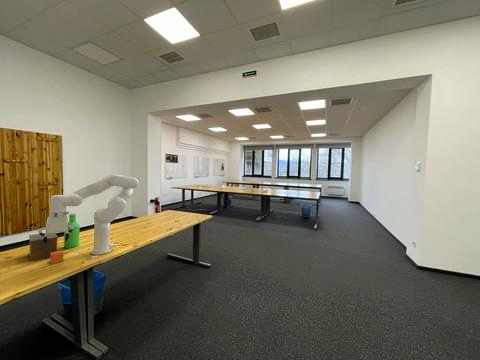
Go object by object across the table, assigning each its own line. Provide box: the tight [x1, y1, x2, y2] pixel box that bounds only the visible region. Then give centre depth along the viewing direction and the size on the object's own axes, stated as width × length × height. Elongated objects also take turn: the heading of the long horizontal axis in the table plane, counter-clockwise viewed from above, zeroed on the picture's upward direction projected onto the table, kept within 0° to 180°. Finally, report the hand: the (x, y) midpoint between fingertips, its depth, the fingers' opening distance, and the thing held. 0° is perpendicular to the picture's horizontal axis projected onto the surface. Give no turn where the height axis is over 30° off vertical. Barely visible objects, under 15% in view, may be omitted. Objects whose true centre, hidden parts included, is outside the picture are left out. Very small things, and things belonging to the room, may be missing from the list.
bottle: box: [63, 213, 81, 249], centre depth 149 cm, size 9×9×25 cm
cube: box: [49, 250, 64, 264], centre depth 124 cm, size 5×5×5 cm
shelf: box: [28, 232, 59, 262], centre depth 132 cm, size 13×16×13 cm
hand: (56, 241), depth 123 cm, fingers open, 9 cm apart
